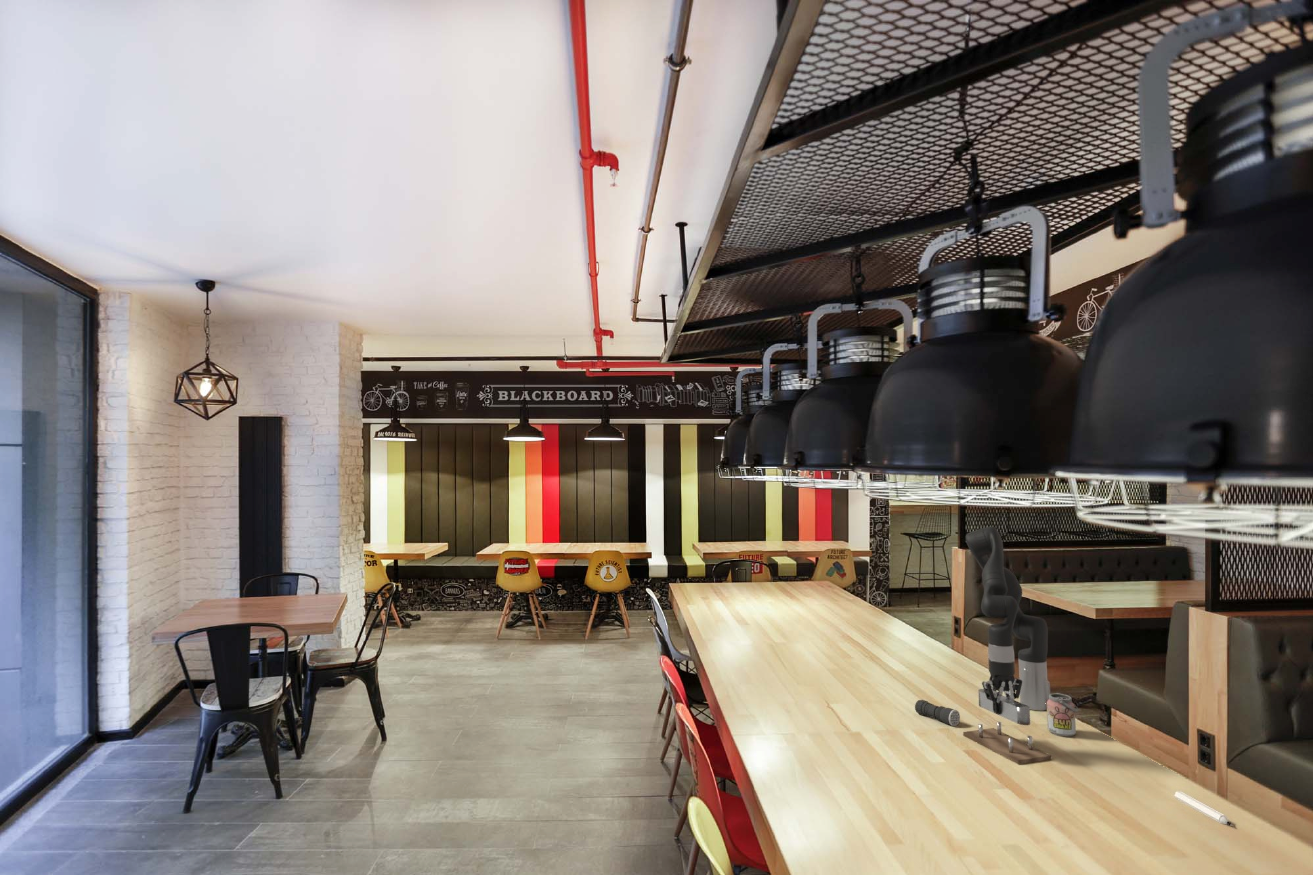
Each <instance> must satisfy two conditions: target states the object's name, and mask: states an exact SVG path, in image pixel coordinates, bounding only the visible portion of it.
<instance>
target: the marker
mask: <svg viewBox="0 0 1313 875" xmlns="http://www.w3.org/2000/svg"><path fill="white" fill-rule="evenodd" d="M1174 798H1175V799H1176V800H1178V801H1180V802H1181V803H1184V805H1187V806H1188V807H1191V808H1193V809H1194V810H1196V811H1197V812H1200V813H1201V814H1203V815H1205V816H1206V817H1208V818H1210V819H1212V820H1214V821H1216V822H1218V823H1220V824H1222V825H1228V826H1232V827H1233V826H1234V825H1233V824H1232V823H1231V822H1230V820H1229V819H1228V817H1227V816H1226V815H1225V814H1223V813H1222V812H1220V811H1217V810H1216V809H1214V808H1212V807H1210V806H1208V805H1207V804H1205V803H1203V802H1201V801H1199V800H1197V799H1195V798H1194V797H1192V796H1190V795H1188V794H1186V793H1185V792H1183V791H1181V790H1179V791H1175V793H1174Z"/></svg>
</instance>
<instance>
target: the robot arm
mask: <svg viewBox="0 0 1313 875" xmlns="http://www.w3.org/2000/svg"><path fill="white" fill-rule="evenodd" d="M965 542H966V544H967V546H968V549H969V550H970V552H971V554H972V556H973V557H974V559H975V560H976V562H977V563H978V565H979V567H980V568H981V570H982V573H981V580H982V586H983V595H982V599H981V603H980V604H981V605H980V606H981V607H980V608H981V612H982V614H983V615H985V617H988V618H996V619H997V618H999V619H1004V620H1003V621H1002V622H1000V623H995V624H990V625H989V626H988V629H987V632H988V633H987V635H988V649H987V654H988V655H987V656H988V672H989V674H990V676H989V680H987V681H982V682H981V685H982V689H984V691H985V694H986V697H987V699H989V700H991V701H993V711H994V713H993V714H995V713H996V714H995V715H997V714H998V715H997V716H1000V715H999V714H1001V707H1000V703H999V702H1000V698H1001V696H1002V695H1003V693H1004V696H1005V697H1008V698H1010V699H1012V700H1017V699H1019V700H1020V701H1019V702H1020V703H1022V704H1025V705H1027V706H1029V707H1030V711H1031V710H1032V711H1047V701H1048V700H1049V695H1050V694H1051V682H1050V681H1049V680H1048V667H1047V666H1048V664H1047V656H1048V652H1049V650H1048V648H1049V647H1048V642H1049V641H1048V640H1049V636H1048V635H1049V634H1048V633H1049V630H1048V629H1049V628H1048V624H1047V621H1046V620H1045V619H1044V618H1042V617H1041V616H1034V615H1028V614H1024V612H1023V611H1022V609H1021V608H1020V602H1021V600H1022V596H1023V589H1022V586H1021V584H1020V582H1019V580H1018V579H1017V577H1016V575H1015V573H1013V572H1012V571H1011V570H1010V569H1008V568H1006V567H1004V564H1005V561H1004V559H1005V558H1004V542H1003V540H1002V537H1001V534H1000V533H999V530H998V529H997V528H996V527H994V526H986V527H983V528H979V529H976V530H973V531H970V532H968V533H966V534H965ZM988 555H989V557H988ZM1013 634H1014V636H1015V638H1017V639H1020V640H1023V641H1029V642H1030V646H1029V647H1028V648H1023V649H1020V650H1018V654H1017V655H1018V656H1017V657H1018V674H1019V675H1018V677H1019V678H1017V677H1015V675H1016V666H1015V665H1016V663H1015V661H1016V660H1015V650H1014V641H1013V640H1014V637H1013ZM996 695H997V696H996ZM1045 703H1046V704H1045Z"/></svg>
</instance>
